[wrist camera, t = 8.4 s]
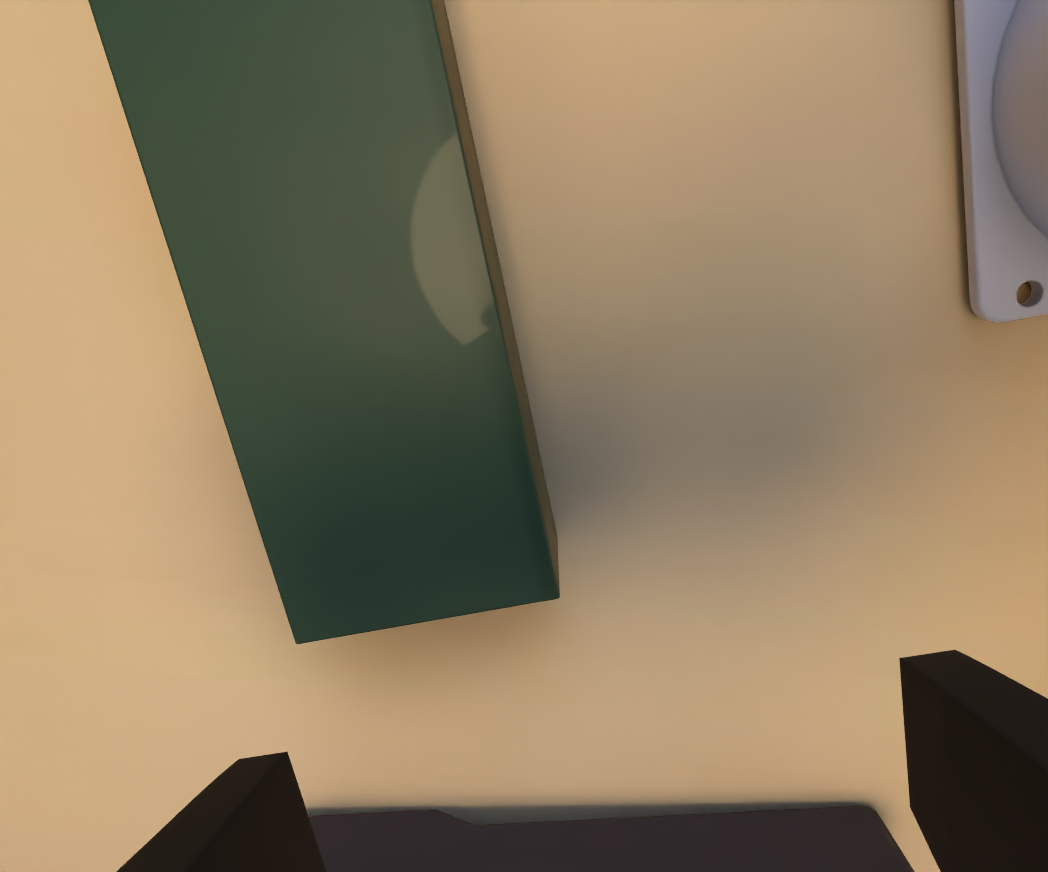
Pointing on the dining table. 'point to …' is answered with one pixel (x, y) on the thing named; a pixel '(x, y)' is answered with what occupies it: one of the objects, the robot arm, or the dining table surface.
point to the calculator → (613, 843)
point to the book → (343, 298)
